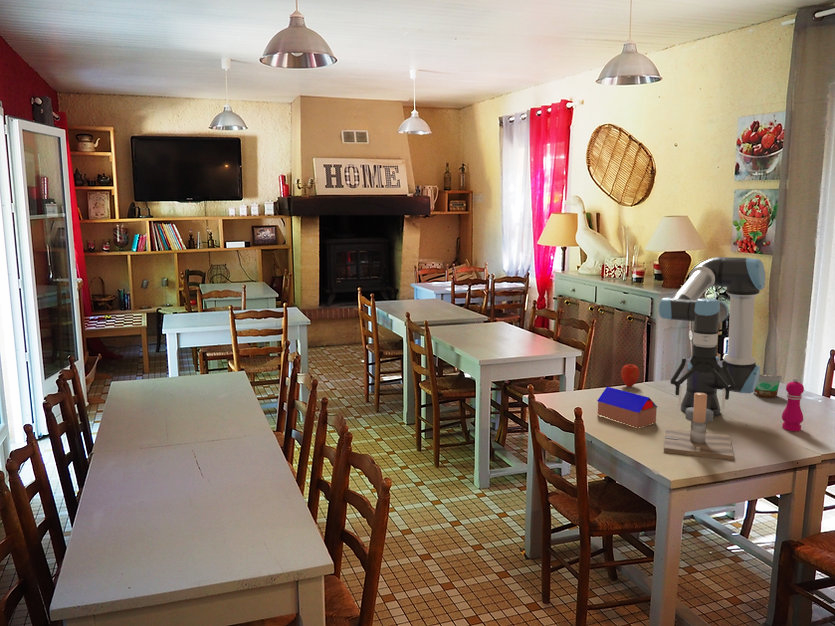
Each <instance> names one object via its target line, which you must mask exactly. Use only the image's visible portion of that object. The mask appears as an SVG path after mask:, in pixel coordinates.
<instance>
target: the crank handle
mask: <svg viewBox="0 0 835 626" xmlns="http://www.w3.org/2000/svg"><path fill="white" fill-rule="evenodd" d="M706 406H707V394H705V393H694V407H690V408H687V409H686V413H685V415H684V416H685V419H686V420H687V421H690V422H691V421H692V422H695V426H703V423H706V424H709V423H712V422H713V421H714V416H713V411H712V410H710V409H706Z"/></svg>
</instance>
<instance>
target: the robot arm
mask: <svg viewBox="0 0 835 626" xmlns="http://www.w3.org/2000/svg"><path fill="white" fill-rule="evenodd" d="M765 272H766V271H765V265H764V263H763V261H762V260H761V259H758V258H754V257H753V258H752V257H751V258H750V257H732V256H731V257H727V256H726V257H724V256H717V257H712V258H709V259H706V260H704V261H702V262H700V263H698V264H696V266H694V267H693V268H692V270H691V271H690V272H689V278H688V279H687V280H686V281H685V282H684V283H683V285H682V286H681V287H680V288H679V289H678V291H677V292H676V293H675V294H674V295H673V296H672V297H663V298H661V299H660V301H659V302H658V303H659V304H658V314H659V317H660V318H662V319H664V320H665V319H666V320H670V321H671V320H672V321H673V320H675V321H685V322H687V321H688V322H693V334H692V335H693V336H692V344H693V345H692V352H691V357H690V358H686V357H685V356H683V357H681V363H680V364H679V366H678V367H677V369H676V371H675V373H674V374H673V375H672V377H671V378H670V381H669V383H670V385H674V386H675V396H678V401H677V402H678V403H677V405H678V406H680V410H681V411H682V412H683V413H685V414H686V409H687V408H690V407H694V393H705V394H707V406H706V409H710V410H712V411H713V417H714V416H715V417H716V416H719V415H720V414H721V410H725V405H726V400H729V399H730V392H732V393H733V392H734V393H739V394H748V395H749V394H752V393H753V392H754V390H755V388H756V386H757V383H758V379H759V375H761V366H760V365H758V364H757V362H756V361H757V360H756V359H755V357H753V343H754V342H753V340H754V319H755V303H756V301H755V299H756V297H757V296H758V295H760V292H761V290H764V288H765V285H766V273H765ZM712 287H719V288H720V287H721V288H726V291H725V292H726V294H727V295H728V296H729V298H730V299H729V306H728V305H727V304H726V303H725V302H724V301H722V300H718V299H716V298H705V297H703V298H701V297H702V296H703V294H704V293H705V292H706V290H708V289H710V288H712ZM728 316H729V317H728ZM727 317H728V319H729V321H728V325H729V326H728V342H727V343H728V345H727V348H728V349H727V354H726V355H725V356H723V360H720V356H719V355H718V356H717V354H718V353H717V350H718V347H717V345H718V341H719V340H718V338H719V337H718V336H719V324H720V323H723V322H724V321H725V320H726V319H727ZM686 365H687V369H686V370H687V371H686V372H685V373H684V374H683V375H682V376H681V375H680V374H681V373H682V371H683V369H684V368H685V367H686ZM679 376H681V377H680V378H679ZM678 378H679V379H678ZM677 379H678V380H677ZM685 381H686V388H685V389H686V391H685V394H684V396H683V398H682V389H683V385H682V384H683V383H684V382H685ZM718 390H720V391H722V395H721V396H722V397H721V405H720V401H719V398H718V394H717V393H718Z"/></svg>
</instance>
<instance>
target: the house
mask: <svg viewBox="0 0 835 626" xmlns="http://www.w3.org/2000/svg"><path fill="white" fill-rule="evenodd" d="M596 402H597V415H598V414H599V415H602V416H605V417H608V418H610V419H613V420H616V421H619V422H622V423H625V424H628V425H631V426H634V427H637V428H639V427H642V428H644V427H643V426H645V427H647V426H646V425H648V426H650V425H649V424H651V425H653V424H652V423H654V424H657V408H658V406H657V404H656V403H655V402H654V401H653V400H652V399H651V398H650V397H649V396H644V395H641V394H636V393H634V392H630V391H625V390H621V389H619V388H614V387H611V386H610V387H609V386H606V388H604V391H603V392H602V393H601V395H600V396H599V398H598V399H597V401H596ZM631 426H630V427H631ZM634 427H633V428H634ZM637 428H636V429H637ZM639 429H640V428H639Z"/></svg>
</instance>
